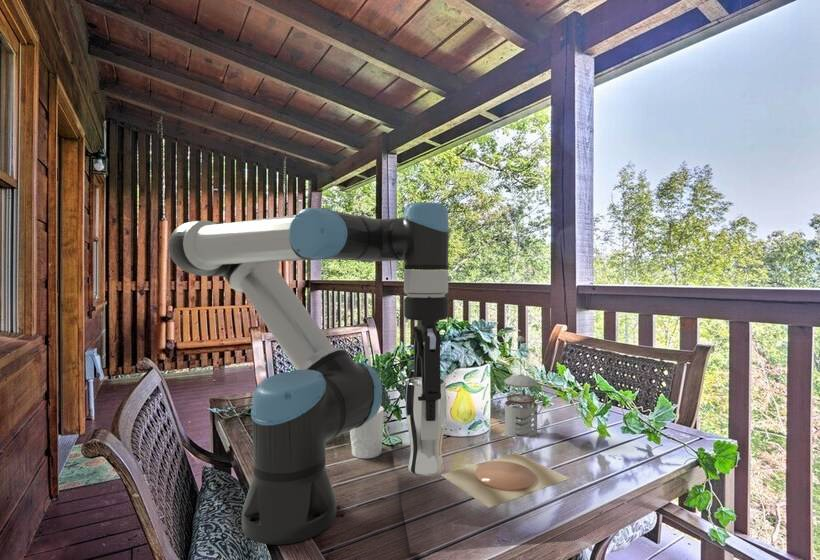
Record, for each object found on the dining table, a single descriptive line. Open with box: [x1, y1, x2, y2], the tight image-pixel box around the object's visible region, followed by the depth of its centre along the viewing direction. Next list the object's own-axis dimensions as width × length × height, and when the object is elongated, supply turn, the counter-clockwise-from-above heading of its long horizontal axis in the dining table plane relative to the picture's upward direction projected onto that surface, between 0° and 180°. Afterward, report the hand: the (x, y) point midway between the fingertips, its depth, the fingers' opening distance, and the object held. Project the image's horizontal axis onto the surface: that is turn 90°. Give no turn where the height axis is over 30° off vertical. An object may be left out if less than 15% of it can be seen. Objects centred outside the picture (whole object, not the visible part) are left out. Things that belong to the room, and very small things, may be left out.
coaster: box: [476, 461, 534, 491], centre depth 83 cm, size 11×11×1 cm
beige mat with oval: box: [440, 452, 571, 509], centre depth 83 cm, size 20×14×2 cm
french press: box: [500, 335, 545, 438], centre depth 108 cm, size 10×12×25 cm
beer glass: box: [405, 377, 448, 478], centre depth 74 cm, size 7×7×15 cm
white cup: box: [349, 405, 385, 460], centre depth 98 cm, size 8×8×10 cm
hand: (425, 430), depth 74 cm, fingers closed on beer glass, 7 cm apart
